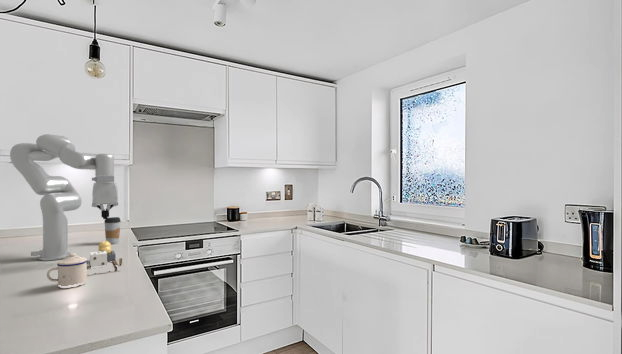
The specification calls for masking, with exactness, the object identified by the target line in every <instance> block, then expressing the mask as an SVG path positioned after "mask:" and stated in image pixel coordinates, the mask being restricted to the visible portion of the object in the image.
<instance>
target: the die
mask: <svg viewBox="0 0 622 354" xmlns="http://www.w3.org/2000/svg"><path fill="white" fill-rule="evenodd" d="M103 265H107V266H108V262H107V252H106V251H99V252H98V251H92V252H91V251H90V252H89V266H91V267H94V266H103ZM91 267H90V268H91Z"/></svg>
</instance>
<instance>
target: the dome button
mask: <svg viewBox="0 0 622 354" xmlns="http://www.w3.org/2000/svg"><path fill="white" fill-rule="evenodd" d="M99 251H106V252H107V254H111V251H112V244H110V243H109V242H108V241H106V240H103V241H100V243H98V251H97V252H99Z"/></svg>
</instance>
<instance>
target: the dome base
mask: <svg viewBox="0 0 622 354" xmlns="http://www.w3.org/2000/svg"><path fill="white" fill-rule="evenodd" d="M115 260H116V253H115V250H111V254H107V261H115Z"/></svg>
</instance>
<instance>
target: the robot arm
mask: <svg viewBox="0 0 622 354" xmlns="http://www.w3.org/2000/svg"><path fill="white" fill-rule="evenodd" d="M9 156H10V157H9V158H10V161H11V164H12V165H13V166H14V168H15V169H16V170H17V171H18V172H19V174H20V175H22V176H23V178H24V179H25V181H26V182H27V184H28V185H29V187H30V188H31V189H32V191H33V192H34V193H35V194H36V195H38V196H42V198H41V199H40V201H39V205H40V210H41V214H42V215H41V216H42V249H40V250H38V251H30V256H31V257H32V256H33V257H36V256H38V260H39V261H45V262H47V261H59V260H63V259H65V258H66V257H69V254H71V253H72V252H68V241H69V239H68V235H69V234H68V232H69V231H68V228H69V227H68V226H69V225H68V218H67V216H66V214H65V213H64V212H70V211H75V210H78V209H79V208H80V207H81V205H82V198H81V197H82V196H81V195H80V194H79V192H78V191H77V189H75V187H74V186H73V184H72V183H71V182H70V180H69V179H68V178H66V177H64V176H60V175H54V176H53V175H49V174H48V173H47V172H46V170H45V168H43V166H41V165H40V164H38V163H37V162H49V161H52V160H55V159H56V158H59V161H60V162H61V163H62V164H64V165H66V166H68V167H70V168H73V169H76V170H95V171H94V172H95V177H91V181H93V185H92V193H91V195H92V196H91V197H92V198H91V200H92V201H91V207H93V208H98V209H99V210H100V211H101V213H100V214H101V218H103V220H105V218H106V219H108V218H110V210H112V208H113V207H117V206H119V196H118V195H119V194H118V185H117V183H116V182H115V158H114V157H115V156H114V155H113V154H110V153H97V154H96V153H87V152H78V151H76V147H75V145H74V144H73V143H72V141H71V140H70V139H69V137H66V136H64V135H58V134H57V135H55V134H49V133H48V134H42V135H39V136H38V137H37V138H36V142H35V143H29V142H25V143H24V142H21V143H17V144H14V145H13V146H12V147H11V149H10V151H9ZM35 161H37V162H35ZM104 205H106V208H104Z"/></svg>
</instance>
